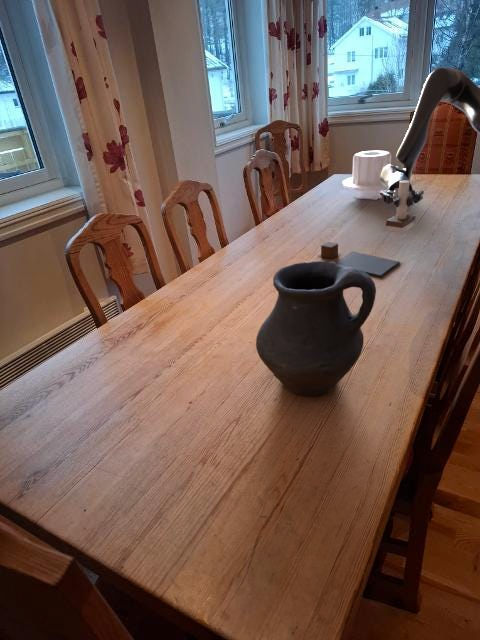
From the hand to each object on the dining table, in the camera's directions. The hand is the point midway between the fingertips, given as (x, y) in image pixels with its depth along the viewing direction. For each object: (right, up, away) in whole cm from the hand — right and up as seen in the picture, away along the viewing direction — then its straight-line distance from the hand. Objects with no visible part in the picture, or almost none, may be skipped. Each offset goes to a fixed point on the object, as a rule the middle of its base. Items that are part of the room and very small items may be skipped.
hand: (403, 203), depth 127 cm
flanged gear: (+12, +23, +73) cm, 78 cm away
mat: (-9, -17, +7) cm, 21 cm away
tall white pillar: (+1, -6, +7) cm, 9 cm away
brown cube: (-19, -13, +16) cm, 28 cm away
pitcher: (-34, -47, -39) cm, 70 cm away
